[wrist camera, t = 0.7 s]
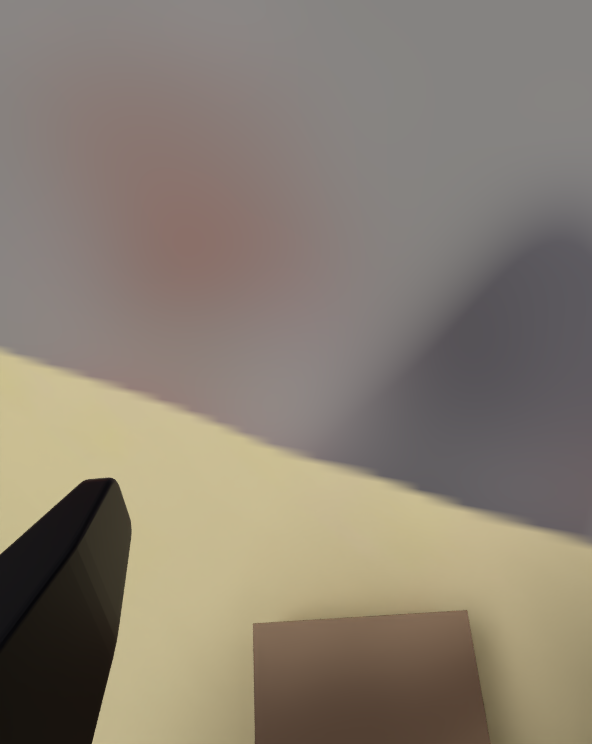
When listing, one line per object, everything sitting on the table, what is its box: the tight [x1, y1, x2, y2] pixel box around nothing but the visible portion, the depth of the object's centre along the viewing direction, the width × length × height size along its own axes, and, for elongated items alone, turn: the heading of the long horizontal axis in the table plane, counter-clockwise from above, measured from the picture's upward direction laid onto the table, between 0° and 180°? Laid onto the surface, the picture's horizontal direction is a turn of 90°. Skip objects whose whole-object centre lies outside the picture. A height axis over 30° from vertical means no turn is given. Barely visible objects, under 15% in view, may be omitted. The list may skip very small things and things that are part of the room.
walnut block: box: [253, 610, 490, 744], centre depth 16 cm, size 6×6×5 cm
